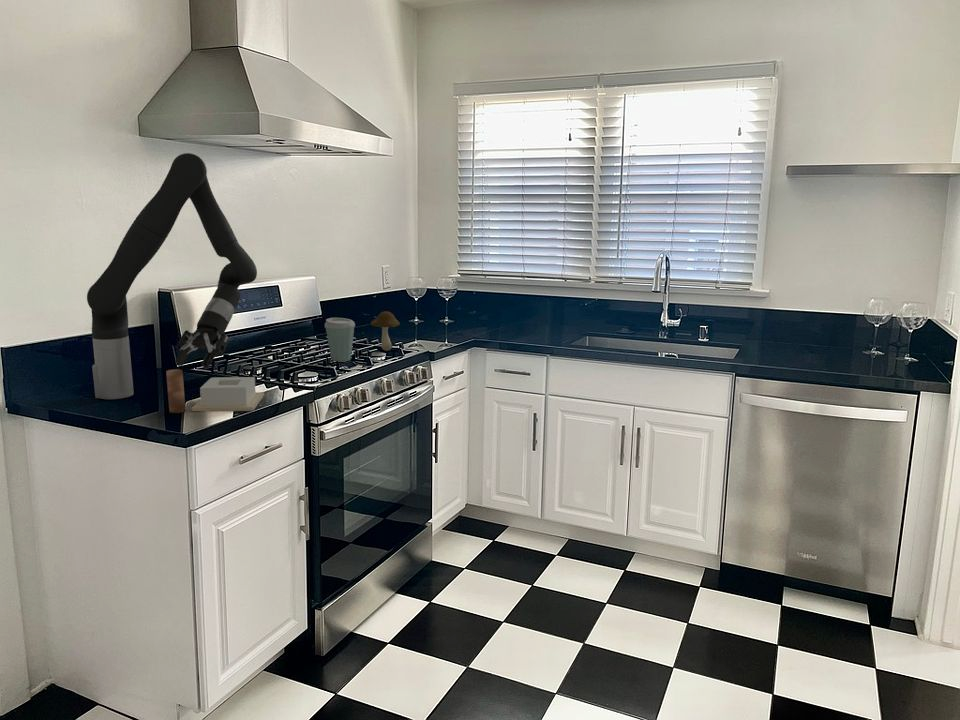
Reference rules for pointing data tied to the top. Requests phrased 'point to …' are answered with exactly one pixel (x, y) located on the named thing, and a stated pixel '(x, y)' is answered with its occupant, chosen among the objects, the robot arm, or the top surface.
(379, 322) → the mushroom
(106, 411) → the top surface
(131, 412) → the top surface
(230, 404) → the socket block
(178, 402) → the peg
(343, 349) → the disposable coffee cup
